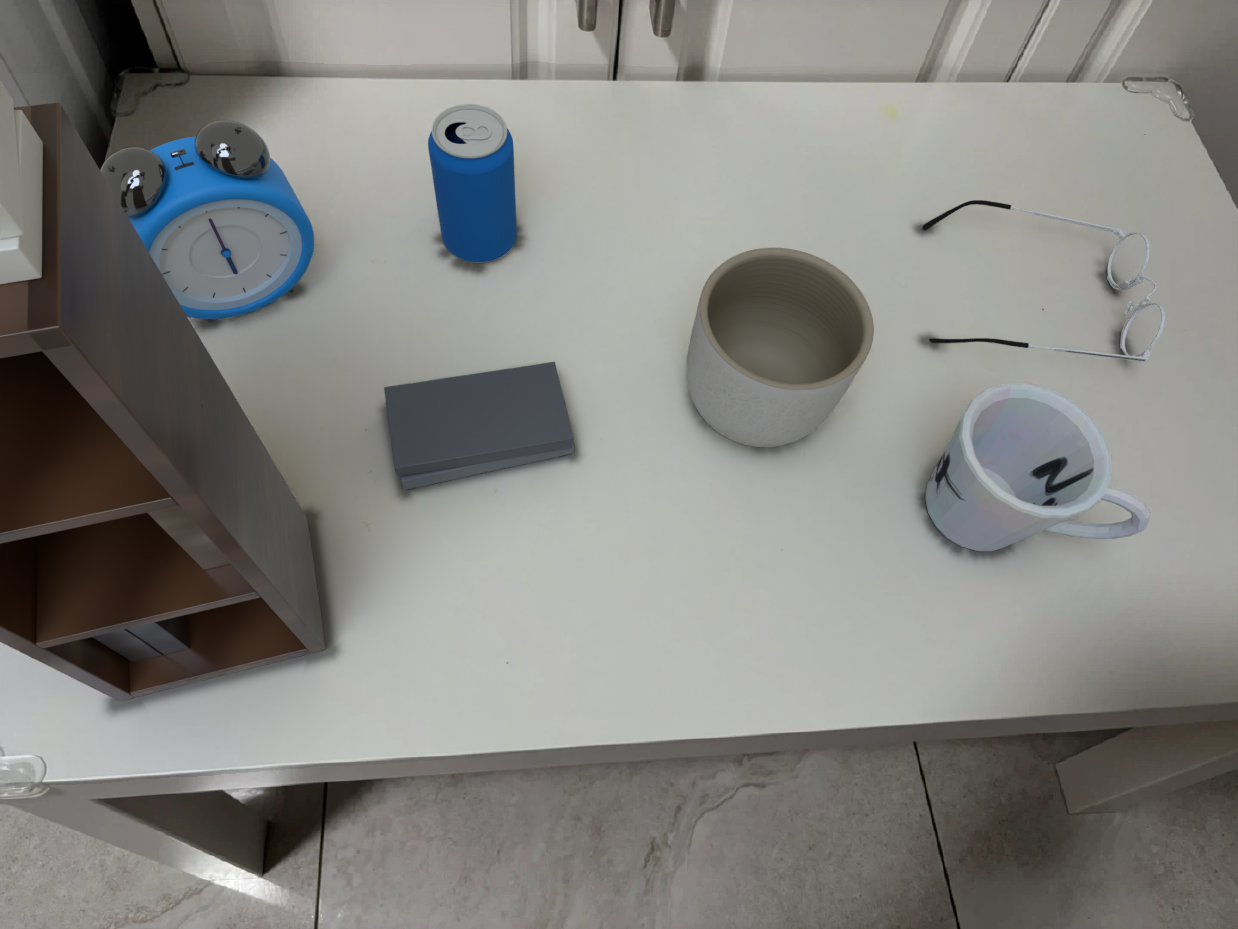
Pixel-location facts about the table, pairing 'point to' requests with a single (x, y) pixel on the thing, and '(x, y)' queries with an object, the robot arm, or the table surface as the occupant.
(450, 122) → the beverage can
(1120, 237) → the eyeglasses
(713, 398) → the planter
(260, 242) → the alarm clock
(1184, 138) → the table surface
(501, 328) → the table surface
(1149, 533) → the table surface
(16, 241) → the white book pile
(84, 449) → the bookcase
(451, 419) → the grey book pile
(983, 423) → the mug
